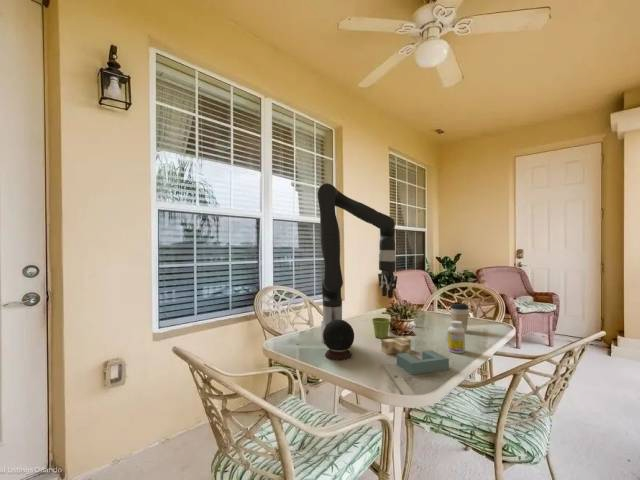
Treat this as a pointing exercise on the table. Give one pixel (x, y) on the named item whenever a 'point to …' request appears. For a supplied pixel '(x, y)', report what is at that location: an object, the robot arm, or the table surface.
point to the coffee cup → (460, 314)
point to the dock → (423, 362)
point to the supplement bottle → (456, 337)
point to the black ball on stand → (338, 340)
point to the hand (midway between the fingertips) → (387, 296)
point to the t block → (396, 345)
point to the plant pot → (381, 327)
